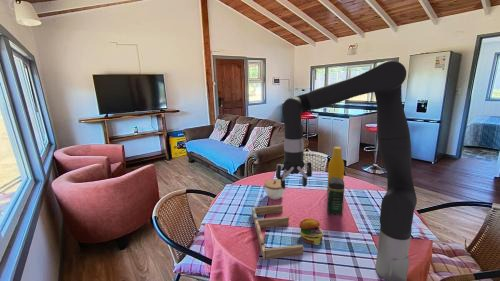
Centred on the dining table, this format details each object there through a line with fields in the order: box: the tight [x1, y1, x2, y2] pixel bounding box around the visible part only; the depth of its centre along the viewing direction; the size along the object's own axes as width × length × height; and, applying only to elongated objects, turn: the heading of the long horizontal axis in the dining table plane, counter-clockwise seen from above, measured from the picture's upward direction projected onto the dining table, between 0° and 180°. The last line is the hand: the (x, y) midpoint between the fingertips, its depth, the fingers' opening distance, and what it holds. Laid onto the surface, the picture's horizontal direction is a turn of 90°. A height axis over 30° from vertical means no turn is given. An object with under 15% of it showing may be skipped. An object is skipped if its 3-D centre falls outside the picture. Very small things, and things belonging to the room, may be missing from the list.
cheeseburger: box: [299, 217, 325, 246], centre depth 107 cm, size 10×11×10 cm
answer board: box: [251, 204, 304, 260], centre depth 112 cm, size 34×17×5 cm, turn 7°
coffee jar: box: [326, 177, 345, 216], centre depth 126 cm, size 10×8×19 cm
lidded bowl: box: [264, 178, 286, 200], centre depth 145 cm, size 13×13×11 cm
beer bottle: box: [327, 146, 345, 191], centre depth 147 cm, size 9×9×29 cm
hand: (293, 187), depth 96 cm, fingers open, 8 cm apart
